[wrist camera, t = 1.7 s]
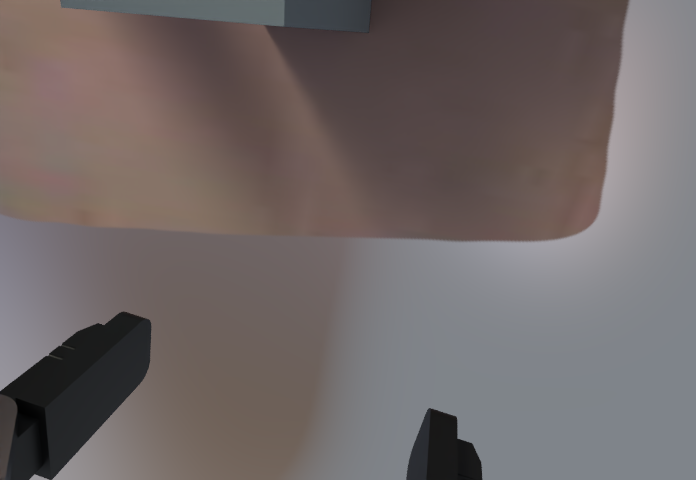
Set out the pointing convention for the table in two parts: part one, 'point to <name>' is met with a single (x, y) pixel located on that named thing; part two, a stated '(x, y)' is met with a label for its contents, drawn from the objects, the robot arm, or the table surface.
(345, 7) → the grey rectangular box
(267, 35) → the table surface
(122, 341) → the robot arm
